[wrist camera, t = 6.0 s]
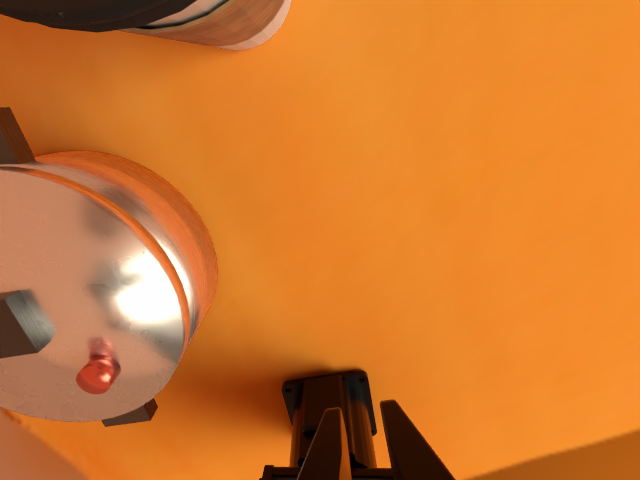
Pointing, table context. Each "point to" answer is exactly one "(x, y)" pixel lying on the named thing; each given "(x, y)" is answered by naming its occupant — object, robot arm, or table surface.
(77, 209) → the lid
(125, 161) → the pot
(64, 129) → the table surface
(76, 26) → the coffee cup
